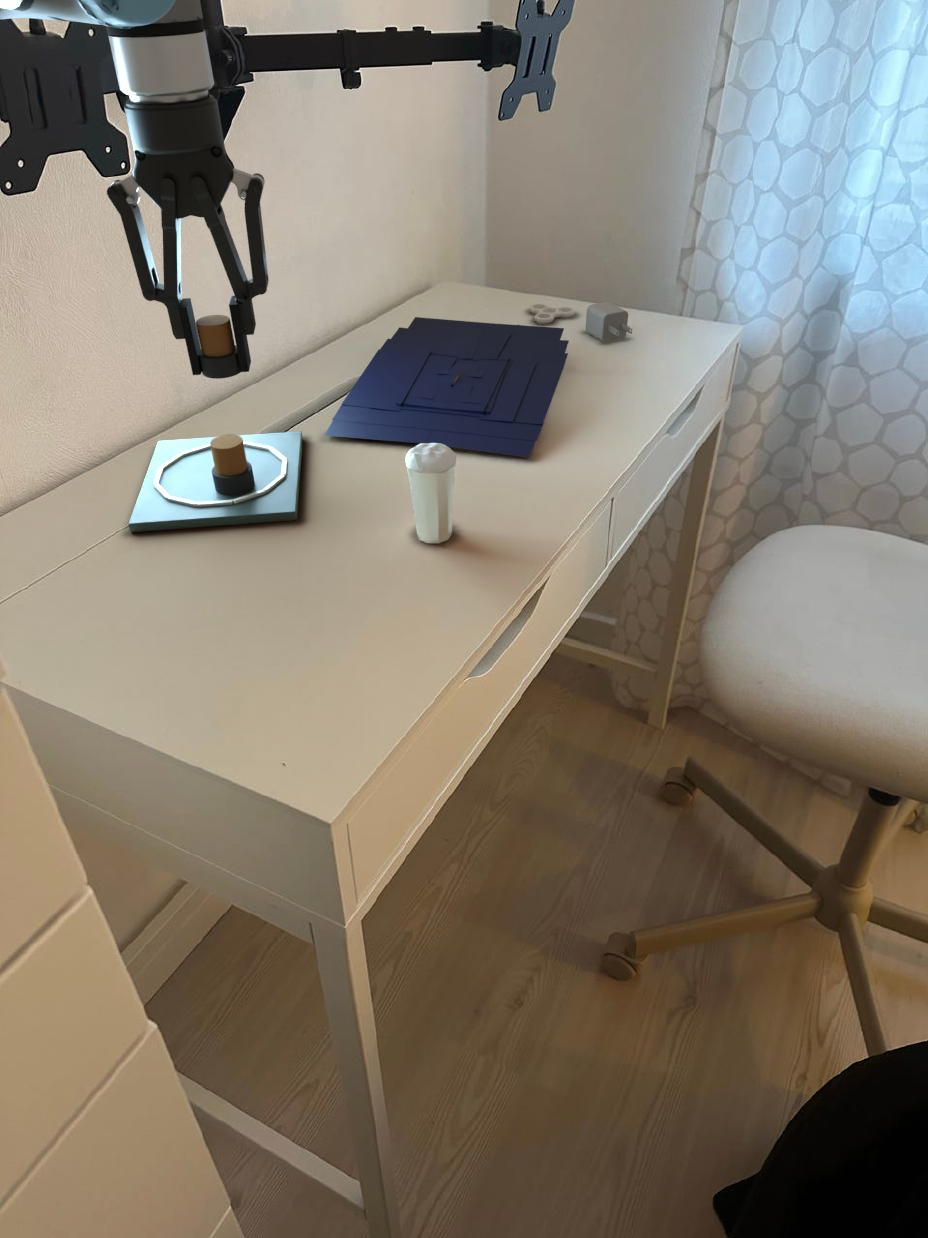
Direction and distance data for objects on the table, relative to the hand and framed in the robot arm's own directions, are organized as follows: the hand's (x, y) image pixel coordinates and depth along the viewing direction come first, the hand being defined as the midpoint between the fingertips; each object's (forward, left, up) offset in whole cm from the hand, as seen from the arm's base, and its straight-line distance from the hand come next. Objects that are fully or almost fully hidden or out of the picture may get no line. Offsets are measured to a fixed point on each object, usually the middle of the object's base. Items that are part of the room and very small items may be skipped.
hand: (222, 367), depth 88 cm
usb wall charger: (+48, +33, -12) cm, 60 cm away
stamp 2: (0, -4, -11) cm, 12 cm away
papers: (+25, +17, -12) cm, 33 cm away
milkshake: (+19, -15, -12) cm, 27 cm away
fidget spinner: (+41, +43, -12) cm, 61 cm away
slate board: (-2, -1, -12) cm, 12 cm away
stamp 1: (0, 0, 0) cm, 0 cm away
